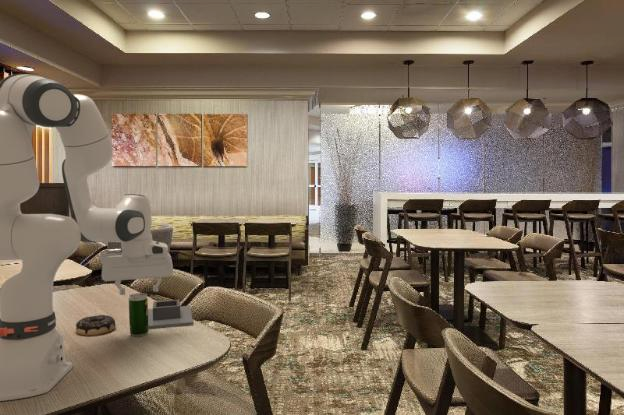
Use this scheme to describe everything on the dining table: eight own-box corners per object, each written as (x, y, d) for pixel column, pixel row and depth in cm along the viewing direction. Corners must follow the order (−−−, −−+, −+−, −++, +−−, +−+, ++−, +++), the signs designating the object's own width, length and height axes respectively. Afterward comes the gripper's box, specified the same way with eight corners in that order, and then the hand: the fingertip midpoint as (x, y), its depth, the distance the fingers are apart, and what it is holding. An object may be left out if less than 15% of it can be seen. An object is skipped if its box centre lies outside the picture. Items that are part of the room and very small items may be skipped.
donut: (100, 323, 158) (99, 311, 158) (124, 329, 152) (123, 316, 152) (68, 333, 149) (67, 320, 149) (92, 339, 143) (91, 326, 142)
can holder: (193, 324, 155) (192, 309, 154) (140, 330, 150) (139, 314, 150) (190, 308, 174) (190, 294, 174) (143, 312, 169) (142, 298, 169)
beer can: (132, 338, 143) (130, 298, 142) (128, 333, 147) (126, 294, 146) (150, 334, 146) (149, 295, 145) (146, 330, 150) (144, 292, 149)
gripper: (98, 251, 139) (100, 298, 140) (172, 247, 144) (173, 292, 146) (101, 248, 145) (103, 293, 146) (172, 244, 150) (173, 287, 152)
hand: (139, 292), depth 146 cm, fingers open, 8 cm apart
